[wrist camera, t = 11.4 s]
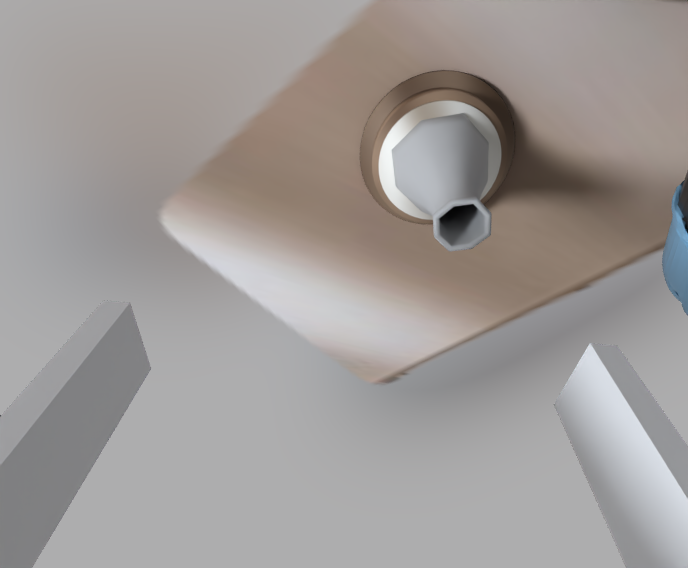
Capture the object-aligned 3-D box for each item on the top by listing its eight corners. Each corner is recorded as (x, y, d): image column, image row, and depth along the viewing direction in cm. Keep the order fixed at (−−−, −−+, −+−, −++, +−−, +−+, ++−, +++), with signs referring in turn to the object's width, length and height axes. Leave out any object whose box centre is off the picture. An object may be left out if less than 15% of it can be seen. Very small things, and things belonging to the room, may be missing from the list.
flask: (502, 184, 30) (547, 252, 22) (414, 222, 33) (425, 296, 25) (471, 92, 27) (511, 134, 19) (374, 143, 29) (373, 199, 21)
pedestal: (463, 30, 27) (470, 33, 25) (539, 166, 32) (550, 179, 30) (330, 141, 32) (326, 151, 30) (413, 244, 37) (415, 260, 35)
